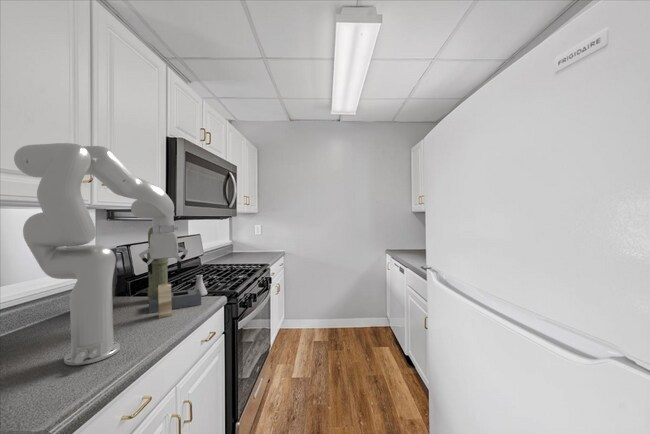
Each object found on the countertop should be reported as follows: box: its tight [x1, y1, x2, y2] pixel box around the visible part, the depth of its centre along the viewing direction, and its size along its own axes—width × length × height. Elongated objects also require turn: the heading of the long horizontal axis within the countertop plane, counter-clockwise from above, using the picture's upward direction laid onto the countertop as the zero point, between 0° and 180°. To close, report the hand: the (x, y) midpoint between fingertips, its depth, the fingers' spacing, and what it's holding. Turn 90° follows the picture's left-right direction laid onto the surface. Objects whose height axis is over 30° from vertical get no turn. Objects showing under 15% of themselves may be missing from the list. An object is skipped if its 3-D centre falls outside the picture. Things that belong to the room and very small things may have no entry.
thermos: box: [146, 226, 169, 303], centre depth 139 cm, size 9×12×35 cm
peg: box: [158, 283, 173, 319], centre depth 116 cm, size 4×4×12 cm
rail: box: [148, 289, 202, 314], centre depth 129 cm, size 10×20×5 cm, turn 119°
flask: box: [193, 274, 208, 297], centre depth 145 cm, size 7×7×10 cm
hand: (165, 272), depth 117 cm, fingers open, 9 cm apart
